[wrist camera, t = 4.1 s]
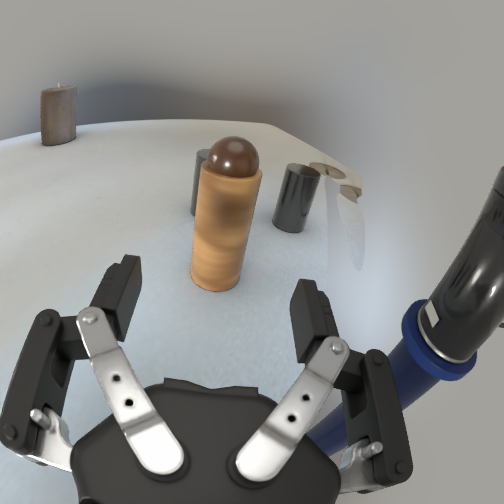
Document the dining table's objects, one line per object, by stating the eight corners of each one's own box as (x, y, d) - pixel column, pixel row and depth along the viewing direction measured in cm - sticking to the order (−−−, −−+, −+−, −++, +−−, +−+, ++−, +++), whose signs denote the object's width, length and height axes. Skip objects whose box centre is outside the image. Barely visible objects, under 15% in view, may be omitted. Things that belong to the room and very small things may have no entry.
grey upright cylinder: (224, 206, 39) (233, 151, 34) (222, 222, 36) (232, 162, 31) (193, 201, 39) (199, 147, 34) (188, 217, 35) (194, 157, 30)
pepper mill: (239, 262, 30) (266, 135, 22) (239, 294, 26) (272, 151, 18) (194, 255, 29) (209, 126, 21) (187, 287, 26) (201, 140, 18)
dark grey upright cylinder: (300, 218, 41) (316, 167, 36) (306, 235, 37) (324, 180, 32) (271, 213, 40) (284, 160, 35) (273, 230, 37) (289, 172, 32)
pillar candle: (37, 148, 48) (36, 87, 40) (46, 137, 55) (46, 83, 46) (72, 143, 53) (74, 81, 44) (79, 133, 59) (80, 79, 51)
